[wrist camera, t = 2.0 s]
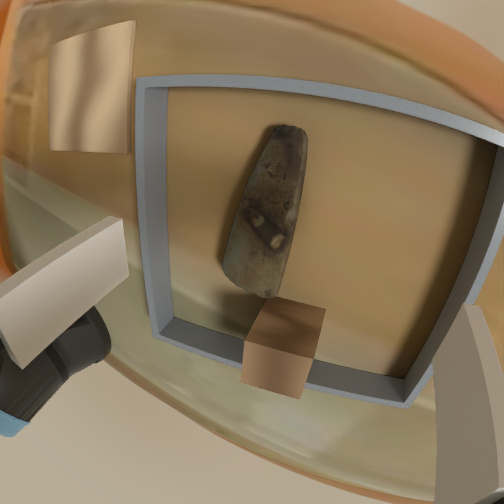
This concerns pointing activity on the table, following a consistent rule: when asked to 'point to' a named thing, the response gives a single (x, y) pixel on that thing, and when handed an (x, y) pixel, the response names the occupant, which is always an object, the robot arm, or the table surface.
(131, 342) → the table surface
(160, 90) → the parts tray
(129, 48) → the cork pad
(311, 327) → the walnut block
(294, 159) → the stone
